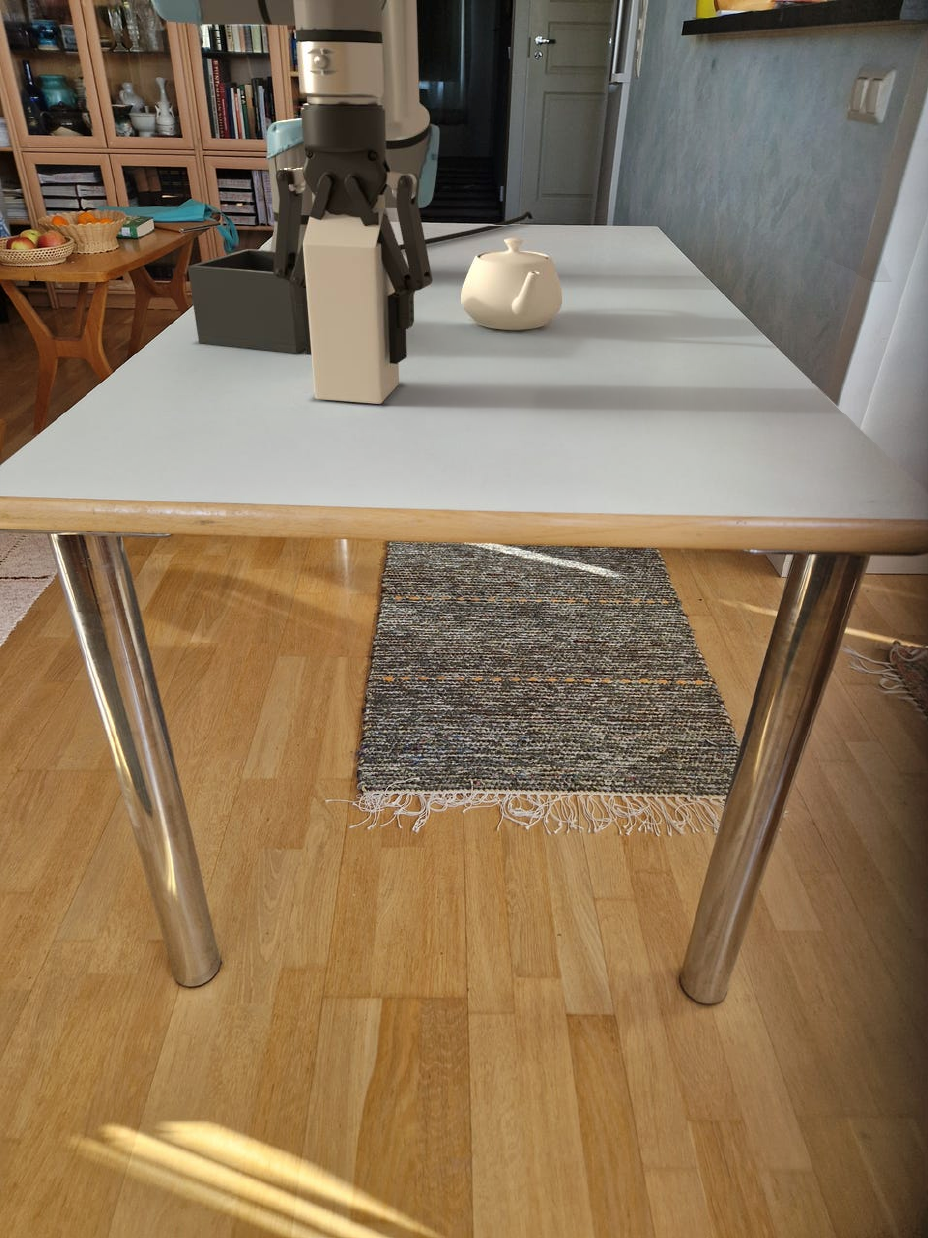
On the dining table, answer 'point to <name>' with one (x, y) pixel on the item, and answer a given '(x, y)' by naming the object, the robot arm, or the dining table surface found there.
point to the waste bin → (245, 303)
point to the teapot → (512, 289)
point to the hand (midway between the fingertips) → (356, 355)
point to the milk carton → (348, 308)
